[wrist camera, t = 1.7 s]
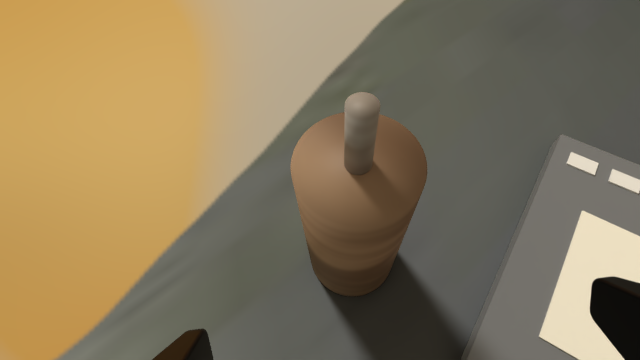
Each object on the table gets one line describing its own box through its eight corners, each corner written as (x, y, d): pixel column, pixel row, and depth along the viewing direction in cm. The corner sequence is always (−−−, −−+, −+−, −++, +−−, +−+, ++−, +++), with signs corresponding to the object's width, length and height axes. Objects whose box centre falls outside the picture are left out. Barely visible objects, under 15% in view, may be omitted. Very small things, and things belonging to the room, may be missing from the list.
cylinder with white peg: (366, 313, 20) (399, 210, 8) (295, 267, 21) (243, 127, 10) (406, 243, 22) (476, 83, 10) (338, 204, 23) (336, 29, 12)
